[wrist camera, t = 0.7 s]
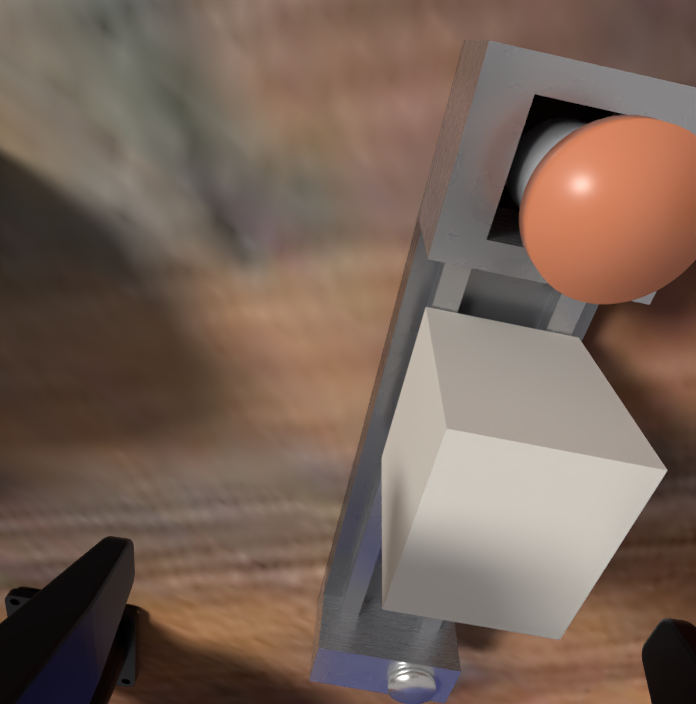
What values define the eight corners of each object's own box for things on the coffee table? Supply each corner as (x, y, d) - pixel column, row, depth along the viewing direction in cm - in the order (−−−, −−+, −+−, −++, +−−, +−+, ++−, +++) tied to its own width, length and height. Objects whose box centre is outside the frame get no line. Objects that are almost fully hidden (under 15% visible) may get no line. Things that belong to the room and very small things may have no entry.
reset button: (591, 245, 16) (666, 318, 12) (469, 220, 16) (503, 285, 12) (648, 112, 14) (761, 143, 10) (512, 82, 14) (569, 100, 10)
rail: (436, 619, 28) (446, 712, 24) (318, 599, 27) (308, 690, 23) (671, 87, 16) (765, 103, 12) (464, 40, 15) (492, 40, 11)
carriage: (521, 483, 20) (572, 641, 15) (381, 457, 20) (382, 609, 14) (589, 339, 17) (682, 473, 12) (425, 306, 17) (446, 428, 11)
